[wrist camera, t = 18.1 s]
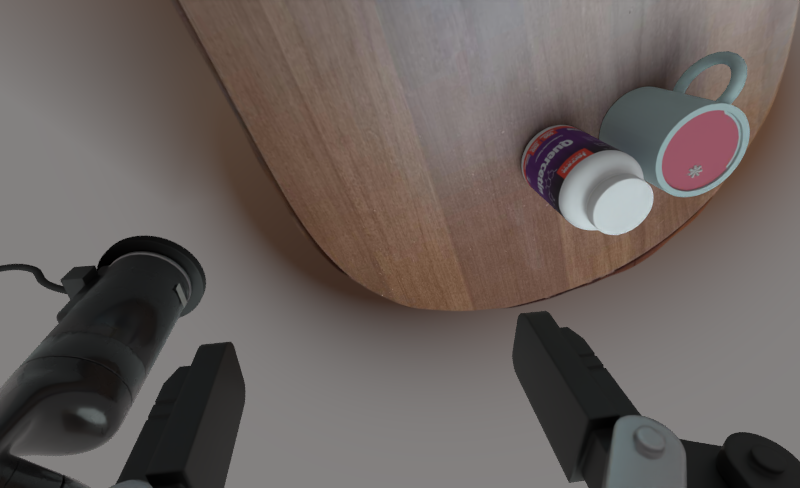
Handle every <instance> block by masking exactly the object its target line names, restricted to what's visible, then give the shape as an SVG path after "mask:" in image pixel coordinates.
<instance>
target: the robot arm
mask: <svg viewBox="0 0 800 488" xmlns="http://www.w3.org/2000/svg"><path fill="white" fill-rule="evenodd" d="M9 270H23V271H28V272H32V273H33V274H34V276H35V278H36V279H37V281H38V282H39V283H40V284H41V285H43V286H44V287H46V288H48V289H51V290H53V291H57V292H60V293H65V294H68V296H69V298H70V301H69V302H68V304H66V306H65V307H64V308H63V309H62V310H61V311H60V312H59V313H58V315H57V321H58V323H59V324H58V325H57V326H56V327H55V328H54V329H53V330H52V331H51V332H50V334H49V335H48V336H47V337H46V338H45V339H44V340H43V341H42V342H41V344H40V345H39V346H38V347H37V348H36V349H35V350H34V351H33V353H32V354H31V355H30V356H29V357H28V358H27V359H26V360H25V361H24V362H23V364H22V365H21V366H20V367H19V368H18V369H17V370H16V371H15V372H14V373H13V374H12V375H11V377H10V378H9V379H8V380H7V381H6V382H5V384H4V385H3V386H2V387H1V388H0V488H90V487H89V486H87V485H85V484H83V483H82V482H80V481H78V480H75V479H73V478H70V477H68V476H65V475H62V474H60V473H58V472H55V471H53V470H50V469H48V468H45V467H42V466H40V465H37V464H35V463H32V462H30V461H27V460H25V459H22V458H19V457H17V456H27V455H45V456H46V455H47V456H63V455H73V454H79V453H84V452H87V451H90V450H93V449H96V448H98V447H100V446H102V445H103V444H105V443H106V442H108V441H109V440H110V439H111V438H112V437H113V436H114V435H115V434H116V432H117V431H118V430H119V428H120V427H121V425H122V423H123V422H124V420H125V418H126V416H127V414H128V412H129V410H130V407H131V406H132V404H133V402H134V400H135V399H136V396H137V395H138V393H139V391H140V389H141V387H142V385H143V383H144V381H145V379H146V378H147V376H148V374H149V372H150V370H151V368H152V366H153V365H154V363H155V361H156V359H157V357H158V355H159V353H160V351H161V350H162V348H163V346H164V344H165V342H166V340H167V338H168V336H169V335H170V333H171V331H172V329H173V327H174V325H175V323H176V321H177V320H178V318H179V316H180V314H181V312H182V310H183V308H184V307H185V306H186V304H187V303H188V301H189V299H190V297H191V294H192V281H191V278H190V276H189V274H188V272H187V271H186V270H185V268H184V267H183V266H182V265H181V264H180V263H178V262H177V261H176V260H174V259H173V258H171V257H169V256H167V255H165V254H162V253H159V252H155V251H149V250H136V251H131V252H127V253H125V254H123V255H121V256H119V257H118V258H117V259H115V260H114V261H113V263H112V264H107V265H103V266H102V267H101V268H100V269H99V270H98V271H97V269H96V267H95V266H84V267H74V268H73V269H72V270H71V271H69V273H67V274H66V275H65V276H64V277H63V278H62V279H61V282H62V284H63V286H60V285H57V284H54V283H52V282H49V281H48V280H47V279H46V278H45V277H44V275H43V273H42V272H41V270H40V269H38V268H37V267H35V266H32V265H27V264H7V265H1V266H0V272H2V271H9ZM512 357H513V364H514V369H515V372H516V375H517V377H518V379H519V381H520V383H521V385H522V387H523V389H524V391H525V393H526V395H527V397H528V399H529V401H530V404H531V406H532V407H533V410H534V412H535V414H536V416H537V418H538V420H539V422H540V424H541V426H542V428H543V430H544V432H545V434H546V436H547V438H548V440H549V442H550V444H551V447H552V448H553V451H554V453H555V455H556V456H557V459H558V461H559V463H560V465H561V467H562V469H563V471H564V473H565V475H566V477H567V479H568V481H569V483H571V482H577V481H584V480H585V482H586V483H587V485H588V487H589V488H800V462H799V461H798V459H797V458H795V457H794V456H793V455H792V454H791V453H790V452H789V451H787V450H786V449H784V448H783V447H781V446H780V445H778V444H777V443H775V442H773V441H771V440H769V439H767V438H765V437H762V436H759V435H756V434H752V433H746V432H739V433H734V434H731V435H730V436H729V437H727V439H726V441H725V443H724V444H723V446H717V445H710V444H705V443H699V442H693V441H687V440H682V439H678V437H677V436H676V435H675V434H674V433H673V432H672V431H671V430H670V429H668V428H667V427H666V426H664V425H663V424H661V423H659V422H658V421H656V420H653V419H651V418H648V417H645V416H641V414H640V413H639V412H638V411H637V409H636V408H635V407H634V405H633V404H632V403H631V401H630V400H629V399H628V397H627V396H626V395H625V393H624V392H623V391H622V389H621V388H620V387H619V385H618V384H617V383H616V381H615V380H614V379H613V377H612V376H611V375H610V373H609V372H608V371H607V369H606V368H604V367H603V364H602V363H601V361H600V360H599V359H598V357H597V356H595V355H594V352H593V351H592V349H591V348H590V347H589V345H588V344H587V343H586V341H585V340H584V339H583V338H582V337H581V336H579V335H578V334H576V333H575V332H574V331H572V330H571V329H569V328H568V327H563V328H559V326H558V325H557V323H556V322H555V320H554V319H553V318H552V316H551V315H550V313H548V312H547V311H541V312H531V313H521V314H520V315H519V316H518V320H517V327H516V333H515V340H514V347H513V355H512ZM155 402H156V404H155V405H154V406H153V407H152V410H151V412H150V414H149V416H148V420H147V421H146V422H145V424H144V426H143V429H142V431H141V433H140V435H139V437H138V439H137V441H136V443H135V445H134V447H133V450H132V452H131V454H130V456H129V458H128V460H127V462H126V464H125V466H124V469H123V470H122V473H121V475H120V477H119V479H118V481H117V483H116V484H115V485H113V486H111V487H110V488H224V485H225V482H226V477H227V473H228V469H229V465H230V461H231V457H232V453H233V449H234V445H235V441H236V437H237V432H238V428H239V424H240V420H241V416H242V412H243V407H244V403H245V384H244V379H243V376H242V372H241V369H240V365H239V362H238V359H237V355H236V352H235V349H234V346H233V344H232V343H231V342H224V343H214V344H205V345H201V346H200V347H199V348H198V350H197V352H196V355H195V357H194V360H193V362H192V364H191V366H184V367H179V368H178V369H177V370H176V371H175V372H174V374H172V376H171V377H170V378H169V379H168V380H167V381H166V382H165V383H164V385H163V386H162V389H161V391H160V393H159V395H158V397H157V399H156V401H155Z"/></svg>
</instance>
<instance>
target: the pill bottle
mask: <svg viewBox="0 0 800 488" xmlns="http://www.w3.org/2000/svg"><path fill="white" fill-rule="evenodd" d="M521 168H522V173H523V176H524V178H525V180H526V182H527V183H528V184H529V185H530V186H531V187H532V188H533V189H534V190H535V191H536V192H537V193H538V194H539V195H540V196H542V197H543V198H544V199H545V200H546V201H547V202H548V203H549V204H550V205H551V206H552V207H553V208H554V209H556V211H558V212H559V213H560V214H561V215H562V216H563V217H564V218H565V219H566V220H567V221H568V222H569V223H571V224H572V225H574V226H575V227H578V228H580V229H584V230H599V231H601V232H603V233H605V234H609V235H619V234H623V233H626V232H628V231H630V230H632V229H634V228H635V227H637V226H638V225H639V224H640V223H641V222H642V221H643V220H644V219H645V218H646V217H647V215H648V213H649V212H650V210H651V207H652V204H653V191H652V189H651V187H650V185H649V184H648V183H647V182H646V181H644V176H643V172H642V169H641V167H640V165H639V164H638V162H637V161H636V160H635V159H634V158H633V157H632V156H630V155H628V154H627V153H625V152H623V151H621V150H619V149H617V148H615V147H613V146H611V145H609V144H607V143H605V142H603V141H601V140H599V139H597V138H595V137H593V136H591V135H589V134H587V133H585V132H583V131H581V130H579V129H577V128H575V127H573V126H569V125H555V126H551V127H548V128H546V129H544V130H542V131H541V132H539V133H538V134H537V135H536V136H535V137H533V139H532V140H531V141H530V142H529V144H528V145H527V147H526V149H525V151H524V153H523V157H522V163H521Z"/></svg>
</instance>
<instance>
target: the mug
mask: <svg viewBox="0 0 800 488" xmlns="http://www.w3.org/2000/svg"><path fill="white" fill-rule="evenodd" d="M717 64H726V65H728V66H729V67H730V69H731V79H730V82H729V85H728V86H727V88H726V90H725V91H724V93H723V94H722V95H721V96H720V97H719V98H718V99H717V100H716V101H713V100H709V99H704V98H700V97H696V96H691V95H687V94H685V91H686V89H687V87H688V86H689V84H690V83H691V82H692V80H693V79H694V78H695V77H696V76H697V75H698V74H699V73H701V72H702V71H704V70H705V69H707V68H709V67H711V66H713V65H717ZM746 78H747V66H746V63H745V61H744V59H743V58H742V57H741V56H739V55H738V54H736V53H733V52H729V51H727V52H717V53H714V54H710V55H708V56H706V57H704V58H702V59H700V60H698V61H697V62H696V63H694V64H693V65H692V66H690V67H689V68H688V69H687V70H686V71H685V72H684V73H683V75H682V76H681V77H680V79H679V80H678V81H677V83H676V85H675V87H674V89H673V91H670V90H666V89H661V88H657V87H641V88H637V89H634V90H632V91H630V92H628V93H626V94H625V95H623V96H622V97H621V98H620V99H618V100H617V101H616V102H615V103H614V104H613V105H612V107H611V108H610V109H609V111H608V112H607V114H606V115H605V117H604V119H603V122H602V124H601V128H600V133H599V140H601V141H603V142H605V143H607V144H609V145H611V146H613V147H615V148H617V149H619V150H621V151H623V152H625V153H627V154H628V155H630V156H632V157H633V158H634V159H635V160H636V161H637V162H638V164H639V165H640V167H641V169H642V172H643V176H644V180H645V181H647V182H649V183H651V184H653V185H654V186H656V187H658V188H660V189H662V190H664V191H665V192H667V193H669V194H671V195H674V196H678V197H691V196H696V195H700V194H702V193H705V192H707V191H709V190H711V189H713V188H714V187H716V186H717V185H719V184H720V183H721V182H723V181H724V180H725V179H726V178H727V177H728V176H729V175H730V174H731V173H732V172H733V171H734V169H735V168H736V167H737V165H738V164H739V162H740V161H741V159H742V157H743V155H744V153H745V151H746V148H747V145H748V141H749V134H750V129H749V123H748V120H747V118H746V116H745V114H744V113H743V112H742V111H741V110H740V109H739V108H737V107H735V106H733V105H730V104H731V103H732V102H733V101H734V100H735V99H736V98H737V96H738V95H739V93H740V92H741V90H742V88H743V87H744V84H745V81H746Z"/></svg>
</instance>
